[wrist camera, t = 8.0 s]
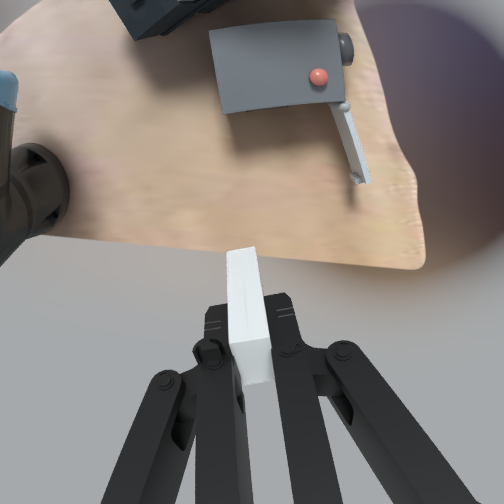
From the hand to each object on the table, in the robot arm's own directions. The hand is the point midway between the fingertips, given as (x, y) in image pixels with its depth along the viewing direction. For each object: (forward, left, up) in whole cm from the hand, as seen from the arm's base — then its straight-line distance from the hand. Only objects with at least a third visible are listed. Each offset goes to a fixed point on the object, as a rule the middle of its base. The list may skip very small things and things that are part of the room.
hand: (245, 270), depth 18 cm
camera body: (+7, +11, -29) cm, 32 cm away
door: (+14, +1, -28) cm, 32 cm away
